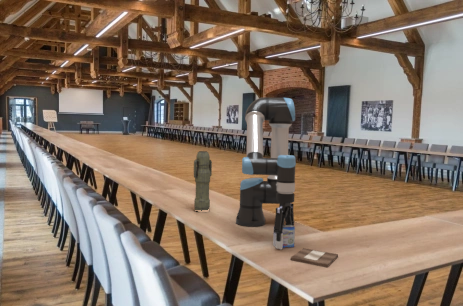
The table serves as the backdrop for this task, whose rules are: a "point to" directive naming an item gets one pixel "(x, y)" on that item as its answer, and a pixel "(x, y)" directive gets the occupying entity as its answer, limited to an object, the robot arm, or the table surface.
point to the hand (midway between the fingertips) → (283, 245)
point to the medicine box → (286, 236)
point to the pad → (314, 257)
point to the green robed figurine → (202, 180)
